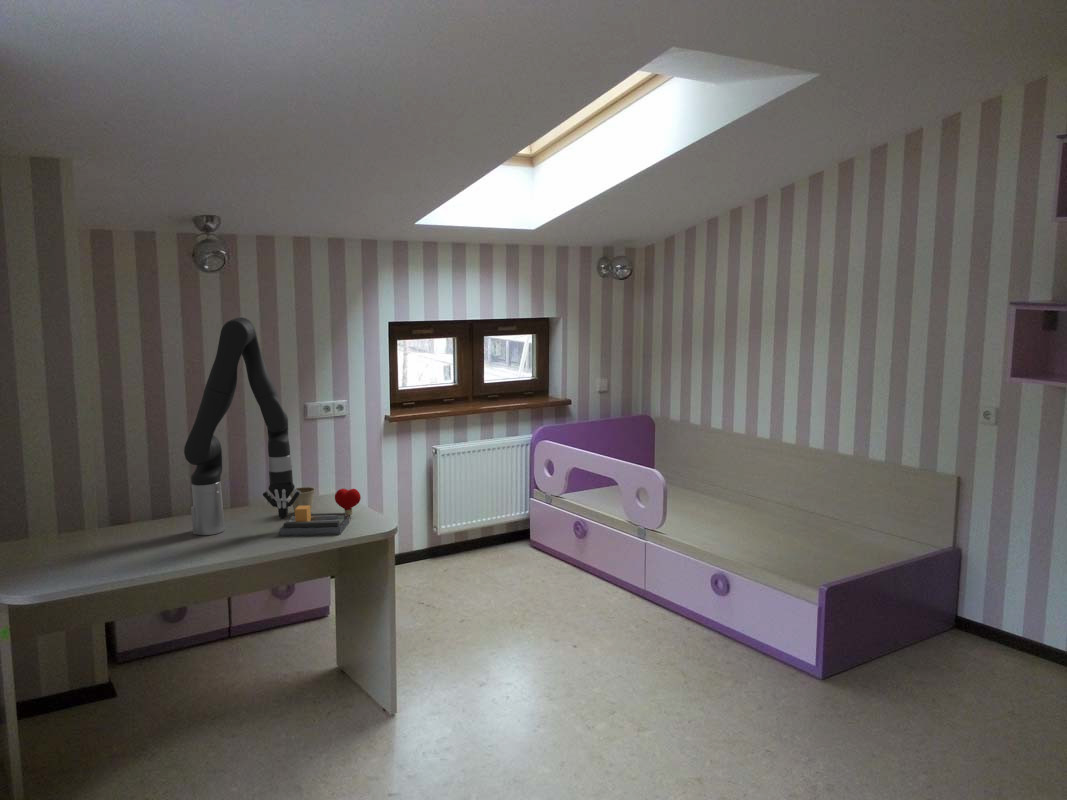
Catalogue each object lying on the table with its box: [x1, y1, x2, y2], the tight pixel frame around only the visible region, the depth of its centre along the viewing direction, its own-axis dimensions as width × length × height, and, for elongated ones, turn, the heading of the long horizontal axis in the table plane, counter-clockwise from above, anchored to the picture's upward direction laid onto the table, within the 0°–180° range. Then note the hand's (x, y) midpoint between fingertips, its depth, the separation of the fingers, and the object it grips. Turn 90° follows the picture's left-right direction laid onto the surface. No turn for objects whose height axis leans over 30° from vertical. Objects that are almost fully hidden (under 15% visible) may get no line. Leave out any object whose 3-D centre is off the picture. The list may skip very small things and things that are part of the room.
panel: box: [279, 515, 350, 537], centre depth 277 cm, size 20×14×4 cm
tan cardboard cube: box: [294, 505, 312, 521], centre depth 277 cm, size 4×5×5 cm
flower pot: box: [289, 486, 316, 514], centre depth 298 cm, size 9×9×9 cm
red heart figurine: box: [334, 488, 362, 517], centre depth 292 cm, size 9×7×10 cm
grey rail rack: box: [283, 512, 347, 528], centre depth 277 cm, size 18×12×1 cm, turn 90°
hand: (283, 518), depth 277 cm, fingers closed
